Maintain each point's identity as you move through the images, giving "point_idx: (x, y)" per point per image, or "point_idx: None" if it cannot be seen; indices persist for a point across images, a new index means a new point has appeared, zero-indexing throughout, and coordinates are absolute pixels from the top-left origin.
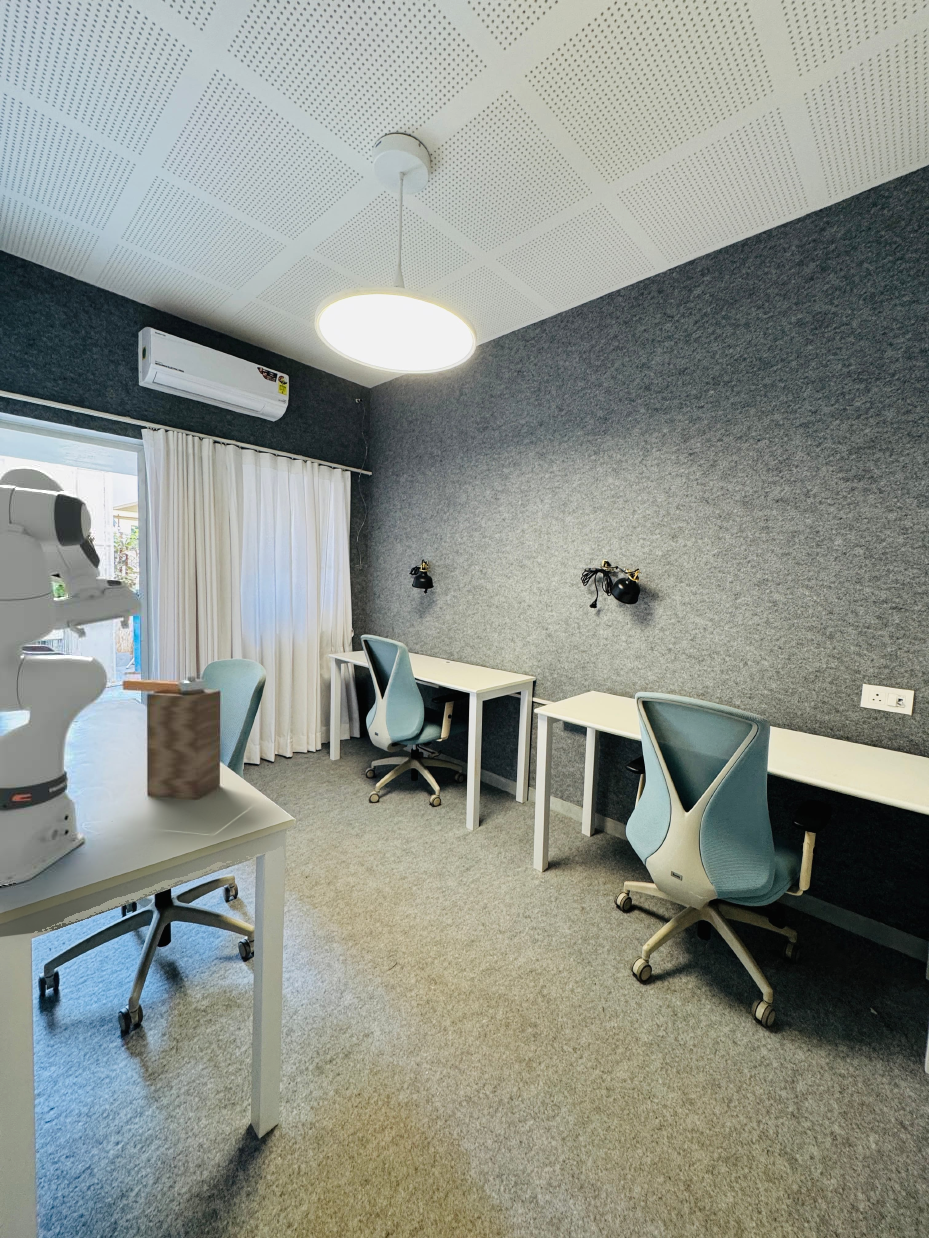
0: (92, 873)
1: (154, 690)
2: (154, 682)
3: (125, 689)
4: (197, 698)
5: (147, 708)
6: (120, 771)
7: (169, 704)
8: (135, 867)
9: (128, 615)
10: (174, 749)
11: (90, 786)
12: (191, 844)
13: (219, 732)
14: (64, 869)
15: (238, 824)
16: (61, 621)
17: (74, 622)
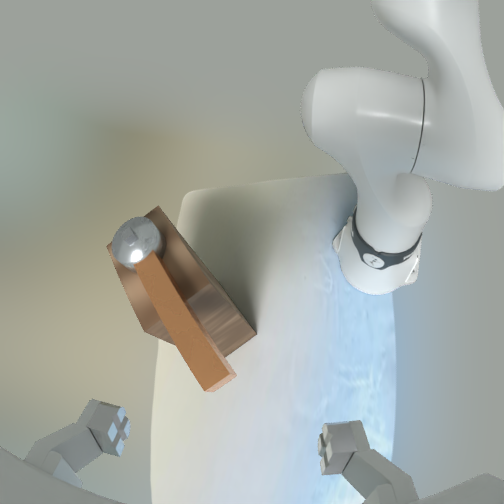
0: (328, 186)
1: (187, 302)
2: (179, 295)
3: (232, 369)
4: (159, 207)
5: (220, 294)
6: (261, 459)
7: (190, 252)
8: (301, 179)
9: (48, 436)
10: (214, 280)
11: (308, 420)
12: (257, 190)
13: None
14: (346, 202)
15: (214, 204)
16: (455, 486)
17: (383, 495)
